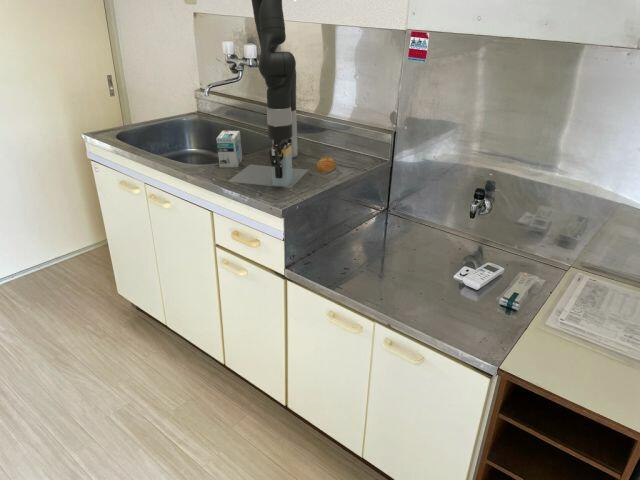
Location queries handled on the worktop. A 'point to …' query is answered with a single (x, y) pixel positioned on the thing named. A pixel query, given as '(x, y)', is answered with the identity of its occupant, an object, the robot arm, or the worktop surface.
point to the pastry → (326, 165)
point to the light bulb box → (229, 149)
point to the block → (284, 169)
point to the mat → (263, 175)
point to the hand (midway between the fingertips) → (282, 174)
